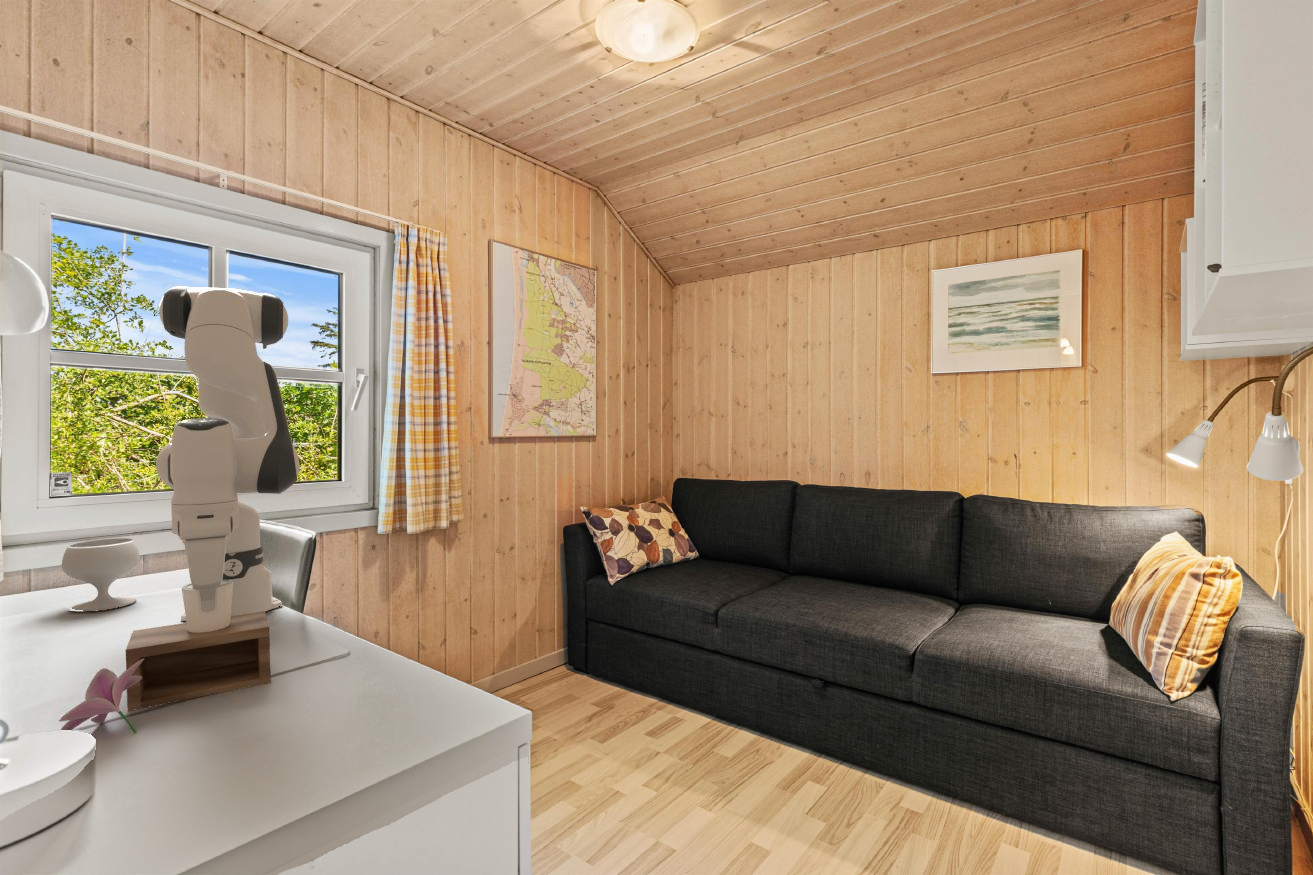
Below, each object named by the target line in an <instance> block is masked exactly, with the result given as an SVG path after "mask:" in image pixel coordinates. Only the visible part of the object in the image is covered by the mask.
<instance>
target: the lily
mask: <svg viewBox="0 0 1313 875" xmlns="http://www.w3.org/2000/svg"><path fill="white" fill-rule="evenodd" d="M143 660H144V659H141V660H140V661H138V662H137V663H135V664H134V665H132V666H131V667H130V668H128V669H127V670H126V669H125V671H123V673H121V674H120V675H118V676H117V674H116V673H115V672H113V671H112V670H110V669H108V668H105V667H103V668H101V669H99V671H97V672H96V673H95V675H94V676H93V678H92V679H91V680H90V682H89V685H88V687H87V689H86V690H85V697H84V698H85V700H84V701H82V702H81V703H79V704H78V705H76V706H74V707H73V708H72V709H71V710H69V711H68V712H66V713H65V714H64V715H63V716H62V717H61V718H60V719H59V720H58V722H66V721H67V722H66V723H65V724H64V725H63V726H62V728H61V729H60V730H72V731H73V730H74V729H77V727H78V726H80V725H81V724H83V723H85V722H86V721H88V720H89V719H90V721H91V722H93V723H94V724H98V725H100V724H99V723H102V722H103V723H104V722H105V721H106V720H107V717H108V715H109V713H113V712H114V713H115V712H116V713H118V714H119V715H120V717H122V718H123V720H124V721H125V723H127V725H128V727H129V728H130V729H131V731H132V733H133V734H137V732H138V731H137V730H136V729H135V727H134V726H133V724H132V723H131V722H130V720H129V719H128V717H127V716H126V715H125V714H124V713H123V712H122V711H121V709H120V704H121V701H122V700H121V699H122V696H123V693H124V692H125V691H127V689H128V688H129V687H131V686H132V685H134V684H135V683H137V682H138V681H140V680H141V679H142V676H137V675H135V676H132V674H133V673H134V671H135V670H136V669H137V668H138V666H139V665H140V664H141V662H142V661H143ZM103 723H102V724H103Z"/></svg>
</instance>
